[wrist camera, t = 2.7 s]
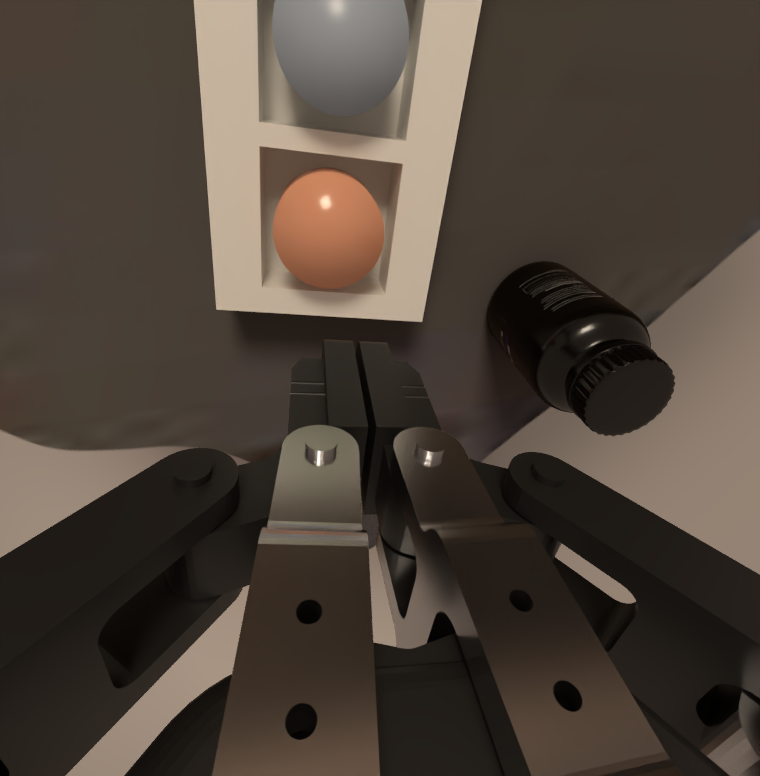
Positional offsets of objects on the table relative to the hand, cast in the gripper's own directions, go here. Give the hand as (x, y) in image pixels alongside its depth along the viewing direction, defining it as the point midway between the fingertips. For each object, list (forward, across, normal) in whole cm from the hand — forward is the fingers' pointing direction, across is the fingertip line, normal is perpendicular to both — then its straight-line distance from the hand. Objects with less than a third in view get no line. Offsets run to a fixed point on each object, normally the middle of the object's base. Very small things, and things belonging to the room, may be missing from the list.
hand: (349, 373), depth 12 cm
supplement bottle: (+19, -15, +5) cm, 25 cm away
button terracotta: (+16, 0, 0) cm, 16 cm away
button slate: (+16, 0, -8) cm, 18 cm away
